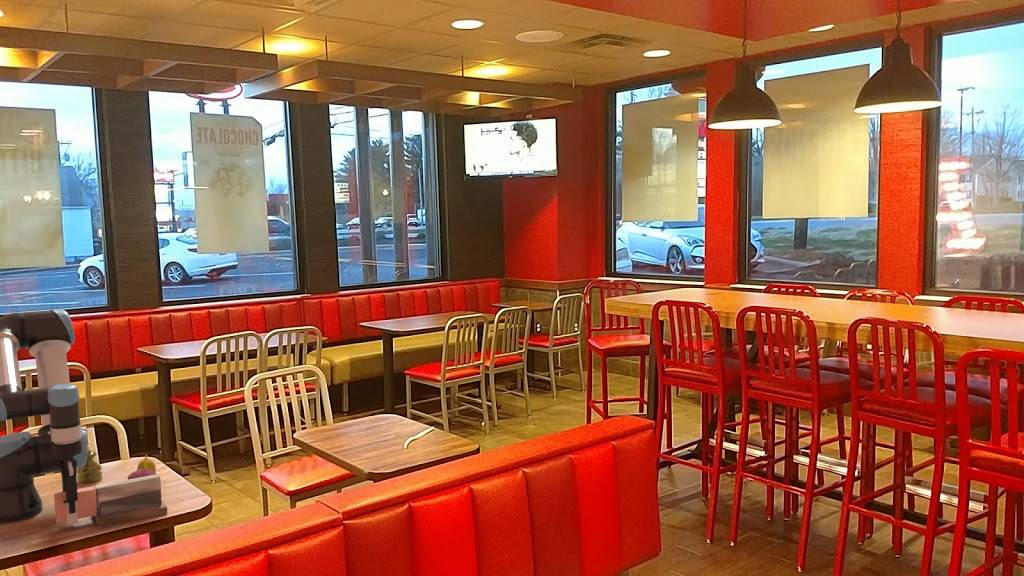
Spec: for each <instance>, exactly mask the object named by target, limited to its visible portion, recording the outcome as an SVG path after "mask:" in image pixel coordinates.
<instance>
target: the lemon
mask: <svg viewBox="0 0 1024 576" xmlns="http://www.w3.org/2000/svg"><path fill="white" fill-rule="evenodd" d="M144 464H145V458H143V459H142V460H141V461H139V462H138V464H137V467H136V469H137V470H138V469H144ZM146 469H151V470H153V471H154V472H157V469H156V464H155V462H154V461H153V459H150V458H147V467H146Z"/></svg>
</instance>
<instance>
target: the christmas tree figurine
mask: <svg viewBox="0 0 1024 576" xmlns="http://www.w3.org/2000/svg"><path fill="white" fill-rule="evenodd" d="M97 454H98V453H97V452H96V451H94V450H91V449H87V460H86V463H85V465H84V466H83V467H81V468H76V469H77V471H76V472H77V476H76V478H77V484H81V485H85V484H87V485H88V484H92V483H97V482H99V481H101V480H102V479H103V472H102V468H103V467H102V464H100V463H97V462H96V461H95V460H94V458H95V457H96V456H97Z"/></svg>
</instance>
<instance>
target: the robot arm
mask: <svg viewBox="0 0 1024 576" xmlns="http://www.w3.org/2000/svg"><path fill="white" fill-rule="evenodd" d="M75 336H76V335H75V331H74V326H73V322H72V319H71V315H70V314H69V313H68V312H67V311H66V310H63V309H50V310H39V311H24V312H11V313H7V314H5V315H3V316H0V422H3V421H10V420H15V419H22V418H30V417H37V416H41V419H42V425H41V426H40V427H39V428H38V430H37V435H33V436H32V434H31V433H30V432H28V431H18V432H17V431H16V432H11V433H8V434H4V435H1V436H0V524H5V523H6V524H7V523H14V522H18V521H22V520H26V519H28V518H32V517H34V516H36V515H38V514H39V513H41V511H42V510H43V501H42V498H41V496H40V494H39V492H38V490H37V488H36V486H35V479H34V477H35V476H42V475H46V474H53V473H59V472H60V475H61V484H62V486H61V488H62V490H61V492H65V491H66V501H64V503H66V514H67V521H66V524H67V525H68V526H69V525H73V524H78V523H79V519H78V509H77V501H78V496H77V489H78V482H77V475H78V473H77V468H81V467H83V466H84V465H85V463H86V460H87V450H88V445H89V443H88V442H89V438H88V437H89V435H88V428H82V423H81V414H80V412H81V411H80V394H79V388H78V386H77V385H75V384H71V381H70V374H69V373H70V372H69V365H68V357H67V353H68V352H69V351H70V350H71V345H73V344H75V342H76V340H75V339H76V337H75ZM25 349H26V350H28V353H29V355H30V356H32V357H34V359H35V366H36V375H37V383H38V388H37V389H29V390H23V387H22V386H23V385H22V378H21V373H20V367H19V359H18V351H19V350H25Z"/></svg>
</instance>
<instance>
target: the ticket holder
mask: <svg viewBox="0 0 1024 576" xmlns="http://www.w3.org/2000/svg"><path fill="white" fill-rule="evenodd" d="M161 479H162V478H161V475H160V474H159V473H156V475H151V476H145V477H140V478H135V479H129V480H128V479H124V480H118V481H114V482H113V481H112V482H109V483H104V484H103V483H102V484H98V485H95V486H94V488H95V493H96V508H97V515H96V516H93V518H94V519H95V522H96V524H97V525H98V528H99V529H101V528H106V527H111V526H116V525H120V524H126V523H129V522H134V521H138V520H139V521H140V520H143V519H148V518H149V519H150V518H152V517H157V516H158V517H159V516H162V515H167V514H168V506H167V505H166V504H165V502H164V501H163V500H162V483H161Z"/></svg>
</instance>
